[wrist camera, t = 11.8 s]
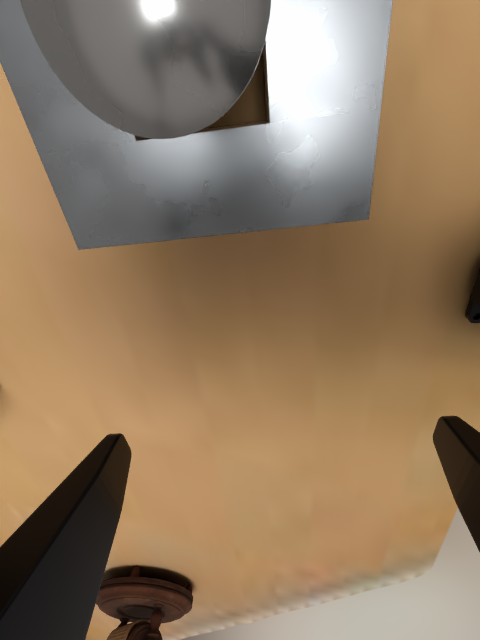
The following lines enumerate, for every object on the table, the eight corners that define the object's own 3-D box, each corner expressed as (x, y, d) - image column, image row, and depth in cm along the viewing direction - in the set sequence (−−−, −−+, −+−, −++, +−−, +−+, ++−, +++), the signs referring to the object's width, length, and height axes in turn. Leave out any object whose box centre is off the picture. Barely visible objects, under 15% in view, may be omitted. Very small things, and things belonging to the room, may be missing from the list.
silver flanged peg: (254, -45, 12) (261, -280, 5) (264, 116, 15) (278, 124, 8) (123, -22, 13) (-54, -203, 5) (157, 130, 15) (73, 151, 8)
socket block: (389, -290, 9) (440, -436, 7) (351, 202, 17) (368, 219, 14) (-49, -186, 10) (-142, -278, 8) (102, 230, 18) (78, 249, 16)
